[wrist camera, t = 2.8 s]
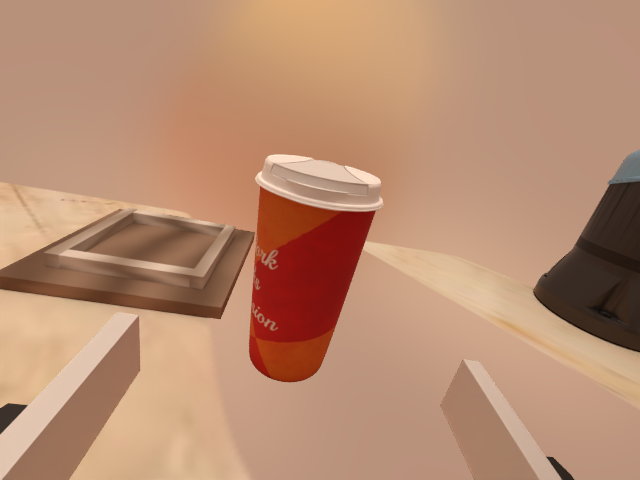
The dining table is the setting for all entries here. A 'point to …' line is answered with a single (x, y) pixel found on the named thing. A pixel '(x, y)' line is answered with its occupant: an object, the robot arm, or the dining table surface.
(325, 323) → the coffee cup
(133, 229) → the walnut board
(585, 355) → the dining table surface
